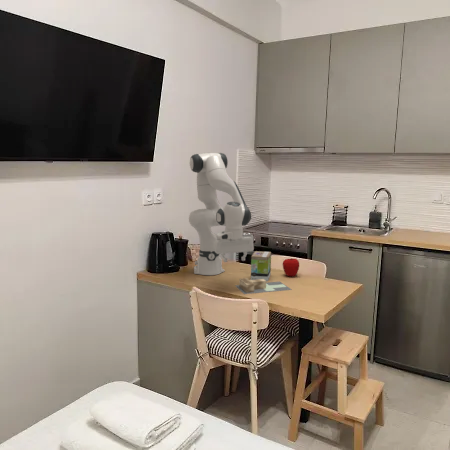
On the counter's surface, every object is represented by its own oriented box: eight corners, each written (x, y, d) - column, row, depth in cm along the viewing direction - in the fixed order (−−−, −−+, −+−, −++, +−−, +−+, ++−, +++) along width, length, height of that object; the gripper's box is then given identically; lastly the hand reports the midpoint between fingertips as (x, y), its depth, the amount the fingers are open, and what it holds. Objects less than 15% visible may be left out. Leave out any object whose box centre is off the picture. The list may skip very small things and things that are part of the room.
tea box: (268, 282, 232) (268, 256, 230) (250, 282, 234) (250, 256, 232) (271, 275, 247) (271, 251, 245) (254, 275, 249) (254, 250, 247)
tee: (246, 292, 212) (246, 284, 211) (239, 286, 223) (239, 278, 223) (268, 290, 215) (268, 283, 215) (260, 284, 227) (260, 277, 226)
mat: (234, 286, 225) (234, 285, 225) (279, 282, 232) (279, 281, 232) (244, 295, 210) (244, 294, 209) (292, 291, 216) (292, 289, 216)
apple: (294, 273, 252) (294, 255, 251) (302, 277, 243) (302, 258, 242) (279, 274, 249) (279, 256, 248) (286, 278, 240) (287, 260, 239)
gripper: (251, 232, 218) (251, 258, 220) (213, 234, 212) (213, 261, 214) (255, 233, 212) (255, 260, 214) (216, 236, 206) (217, 264, 208)
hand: (234, 261), depth 214 cm, fingers open, 8 cm apart
